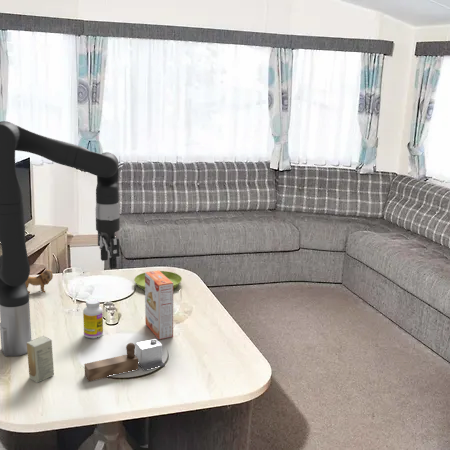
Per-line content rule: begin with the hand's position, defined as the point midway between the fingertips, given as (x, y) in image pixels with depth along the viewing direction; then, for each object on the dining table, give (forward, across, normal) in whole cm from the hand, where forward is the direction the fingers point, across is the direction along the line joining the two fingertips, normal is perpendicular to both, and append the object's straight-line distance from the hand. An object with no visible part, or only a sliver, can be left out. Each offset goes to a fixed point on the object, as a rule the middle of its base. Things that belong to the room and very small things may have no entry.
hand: (108, 264), depth 192 cm
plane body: (+30, +16, -5) cm, 34 cm away
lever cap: (+30, +15, +8) cm, 34 cm away
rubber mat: (+30, +15, +8) cm, 35 cm away
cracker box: (+30, -5, +20) cm, 37 cm away
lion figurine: (+30, -62, -11) cm, 70 cm away
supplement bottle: (+30, -12, -2) cm, 33 cm away
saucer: (+31, -47, +38) cm, 68 cm away
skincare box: (+30, +9, -25) cm, 40 cm away
